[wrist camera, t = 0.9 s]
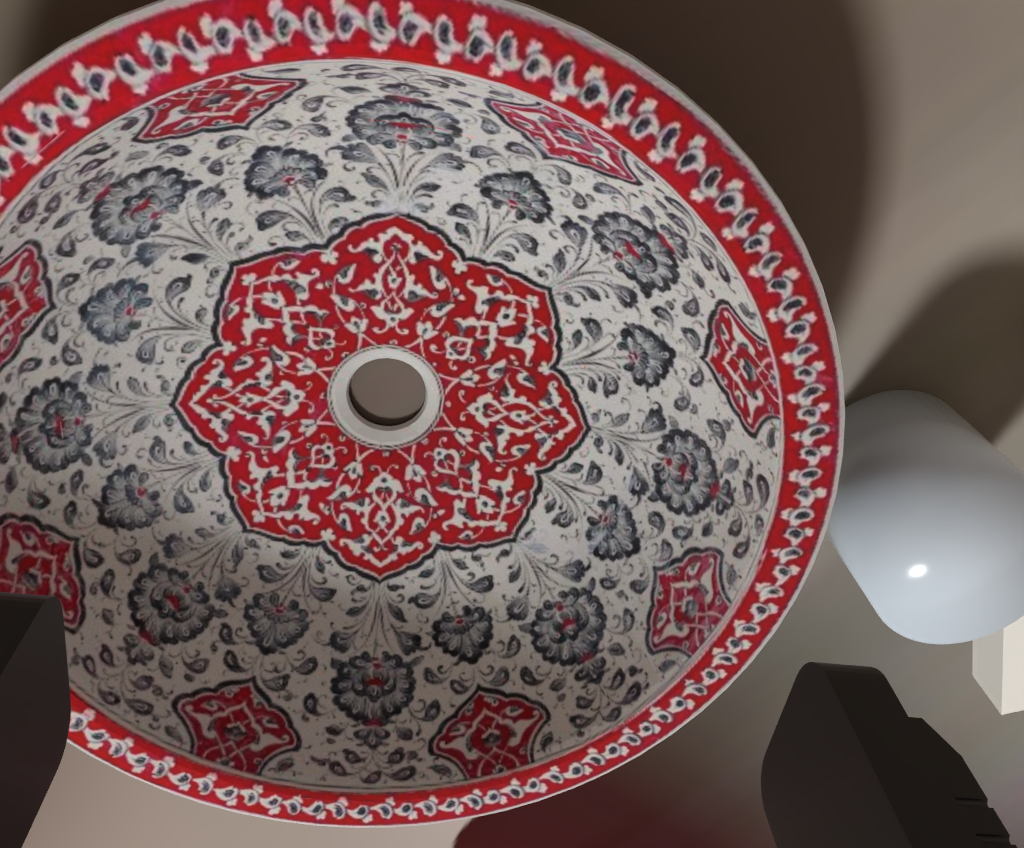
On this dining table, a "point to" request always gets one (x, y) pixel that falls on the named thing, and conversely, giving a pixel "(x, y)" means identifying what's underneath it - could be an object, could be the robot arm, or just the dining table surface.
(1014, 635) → the board
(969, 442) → the white rounded cylinder
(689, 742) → the dining table surface
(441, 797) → the ceramic bowl
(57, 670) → the robot arm
